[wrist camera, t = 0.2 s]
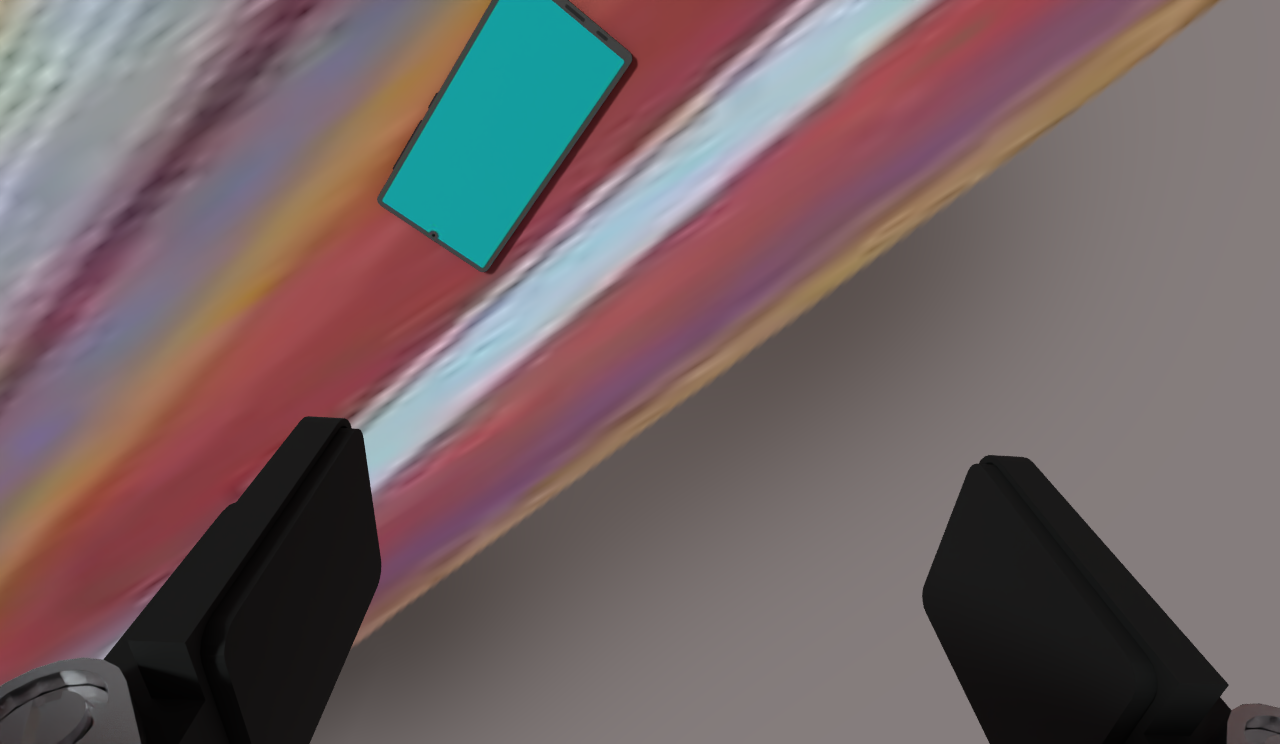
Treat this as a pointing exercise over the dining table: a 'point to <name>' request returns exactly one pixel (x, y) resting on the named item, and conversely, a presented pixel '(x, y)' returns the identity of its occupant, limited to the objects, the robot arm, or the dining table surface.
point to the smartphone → (503, 125)
